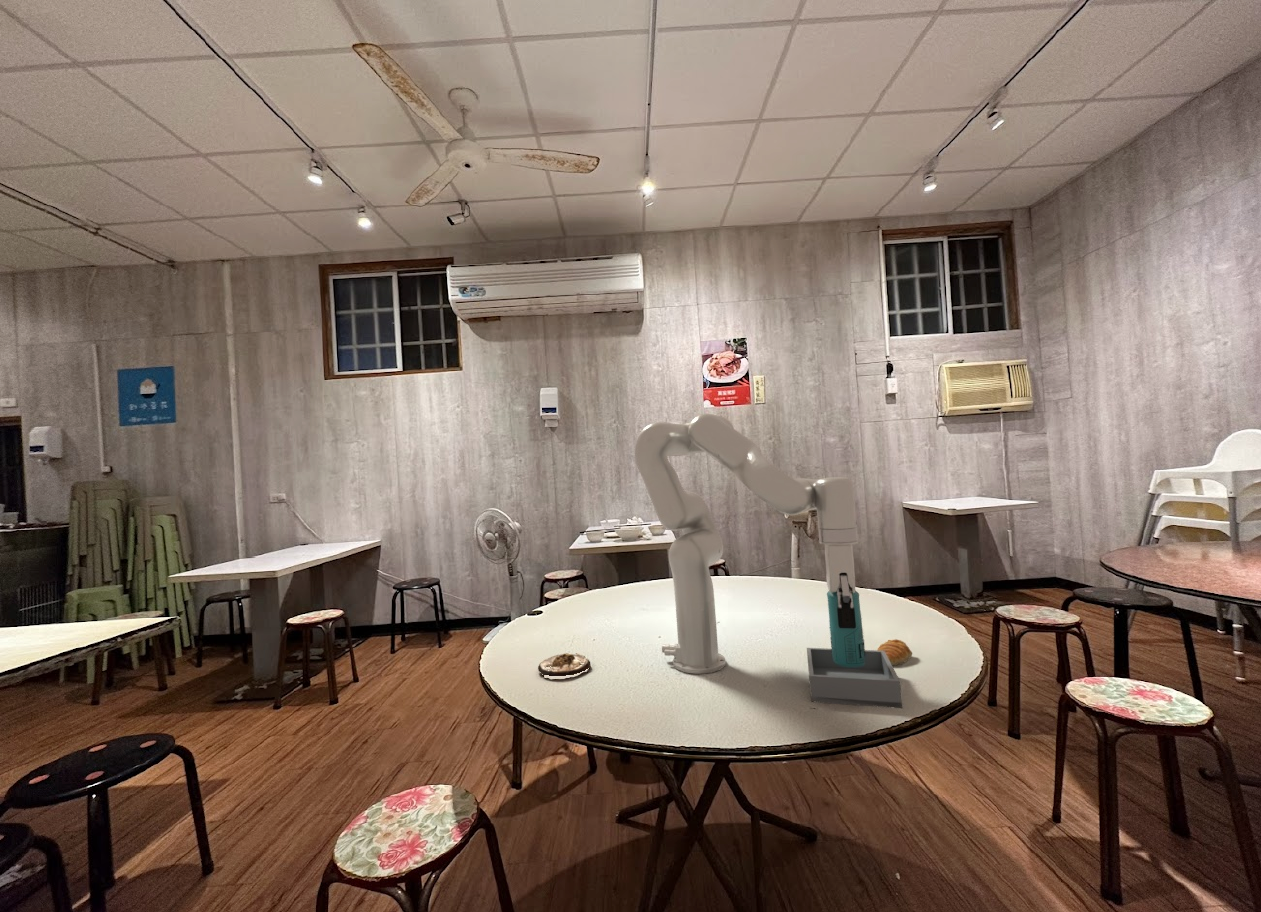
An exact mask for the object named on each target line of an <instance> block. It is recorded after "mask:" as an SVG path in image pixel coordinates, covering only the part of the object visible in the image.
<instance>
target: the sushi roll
mask: <svg viewBox="0 0 1261 912" xmlns="http://www.w3.org/2000/svg"><path fill="white" fill-rule="evenodd" d="M549 663H550V664H549ZM581 663H584V664H581ZM580 665H582V666H580ZM550 666H551V667H550ZM546 667H550V669H545V668H546ZM589 667H590V668H591V661H590V659H589V658H588V657H587V656H586V655H584V654H580V653H575V654H573V653H571V654H570V651H569V652H568V653H567V652H565V653H560V654H555V655H553V656H551V657H548V658H546V659H544V660H542V661H541V662H540V663H539V664H538V666H537V670H538V673H540V672H541V673H542V674H543V675H549V676H566V675H574V674H577V673H580V672H582V671H585V670H586V669H588V668H589ZM548 670H549V671H548Z"/></svg>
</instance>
